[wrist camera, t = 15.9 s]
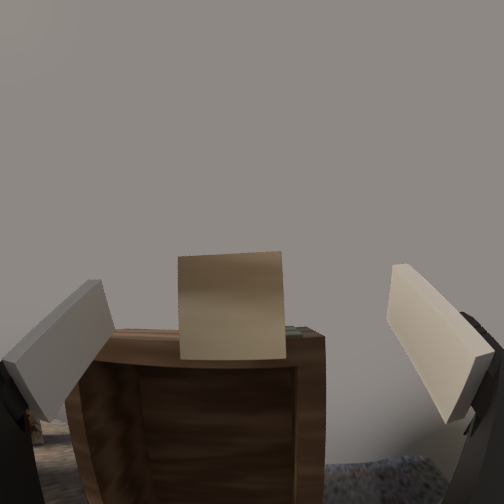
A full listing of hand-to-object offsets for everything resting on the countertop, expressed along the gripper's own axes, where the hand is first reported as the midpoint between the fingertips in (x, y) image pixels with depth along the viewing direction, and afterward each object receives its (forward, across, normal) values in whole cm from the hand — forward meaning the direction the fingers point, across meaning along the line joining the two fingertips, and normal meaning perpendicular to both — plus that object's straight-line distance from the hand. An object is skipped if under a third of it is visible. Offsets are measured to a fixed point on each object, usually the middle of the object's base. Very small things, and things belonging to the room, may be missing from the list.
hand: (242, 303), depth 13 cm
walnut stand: (-3, -6, -36) cm, 36 cm away
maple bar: (+8, 0, -7) cm, 11 cm away
